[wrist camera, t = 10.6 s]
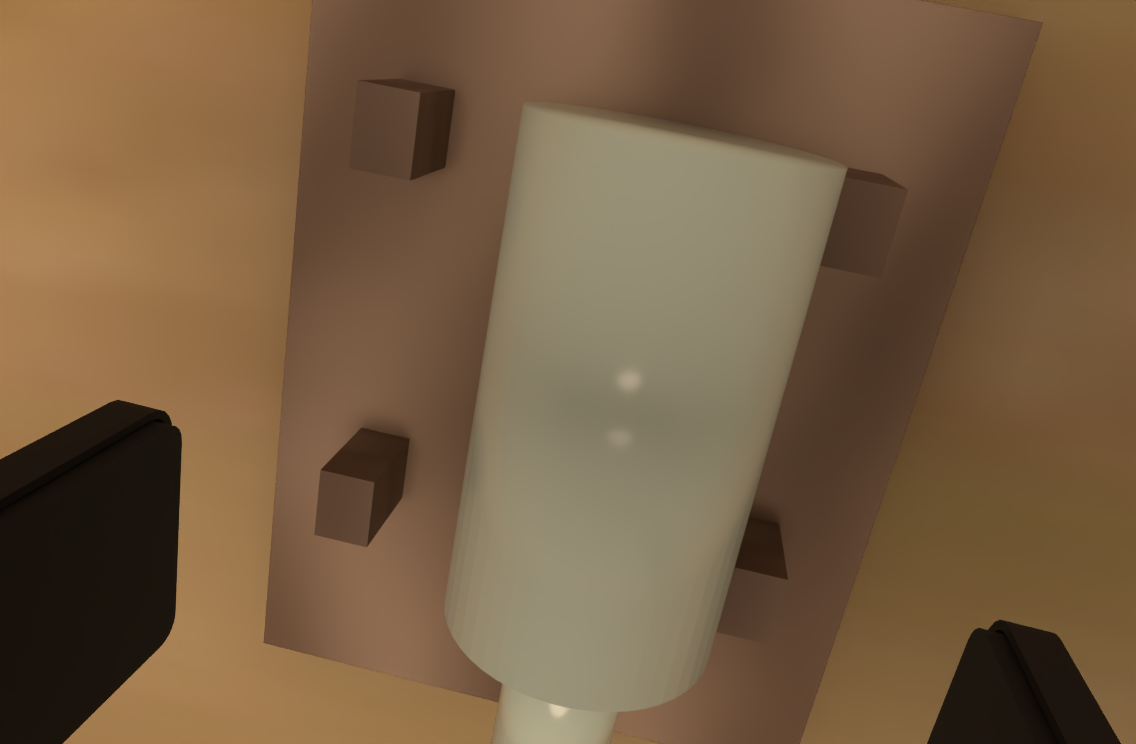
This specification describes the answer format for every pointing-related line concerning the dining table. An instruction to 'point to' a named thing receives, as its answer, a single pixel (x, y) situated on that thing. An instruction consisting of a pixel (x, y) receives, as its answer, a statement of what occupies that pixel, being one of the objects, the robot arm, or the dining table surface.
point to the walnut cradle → (468, 270)
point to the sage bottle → (625, 406)
